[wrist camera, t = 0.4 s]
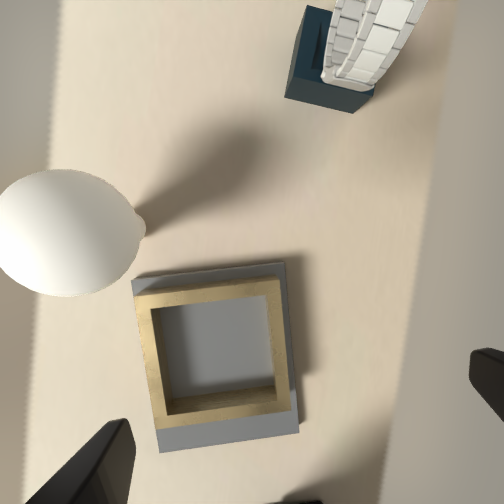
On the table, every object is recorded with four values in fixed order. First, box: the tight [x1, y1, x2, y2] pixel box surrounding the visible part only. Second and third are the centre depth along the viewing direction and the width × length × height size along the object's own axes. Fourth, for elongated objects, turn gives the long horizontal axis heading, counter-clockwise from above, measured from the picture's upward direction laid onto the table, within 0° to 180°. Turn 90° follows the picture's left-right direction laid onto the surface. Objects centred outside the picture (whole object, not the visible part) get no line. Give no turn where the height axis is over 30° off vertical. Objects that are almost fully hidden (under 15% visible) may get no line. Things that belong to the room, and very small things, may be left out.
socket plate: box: [131, 262, 299, 453], centre depth 22 cm, size 15×12×3 cm
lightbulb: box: [0, 169, 146, 297], centre depth 16 cm, size 6×6×11 cm
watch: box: [284, 0, 428, 114], centre depth 15 cm, size 6×8×11 cm
